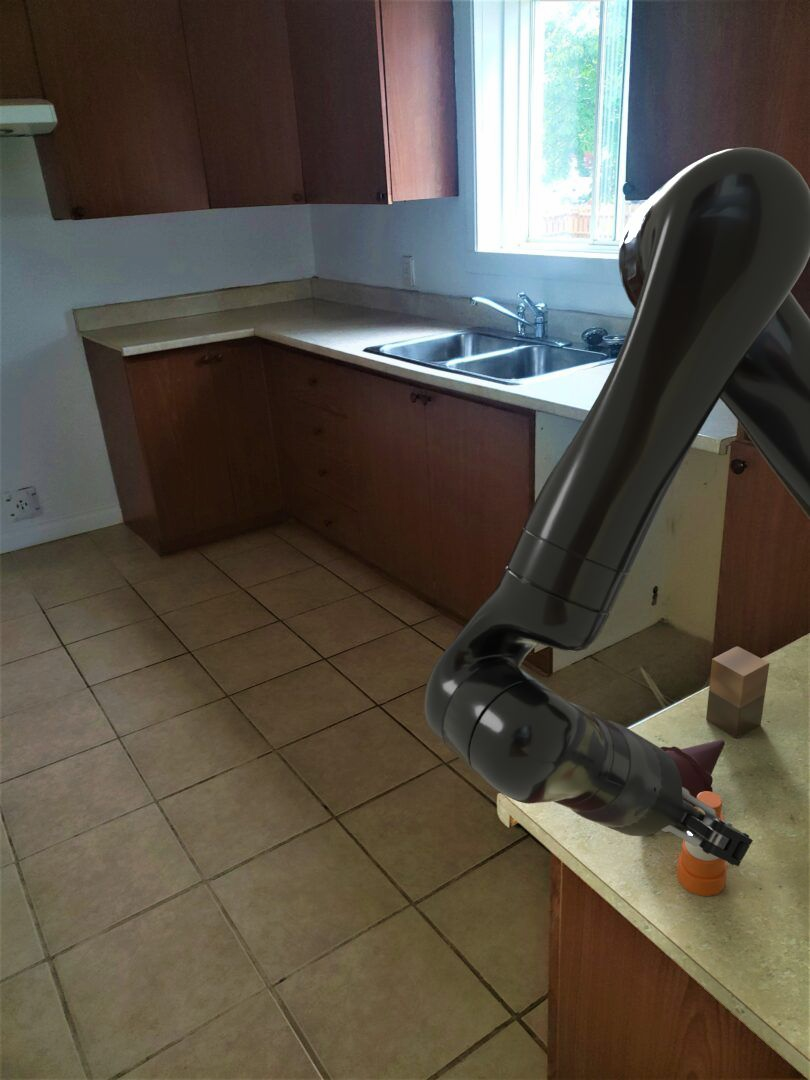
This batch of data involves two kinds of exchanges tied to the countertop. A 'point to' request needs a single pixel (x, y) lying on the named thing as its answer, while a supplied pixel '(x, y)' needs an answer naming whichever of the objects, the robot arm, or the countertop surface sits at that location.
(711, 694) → the block bottom
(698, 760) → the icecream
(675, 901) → the countertop surface
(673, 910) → the countertop surface
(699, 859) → the cone
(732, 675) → the block top
